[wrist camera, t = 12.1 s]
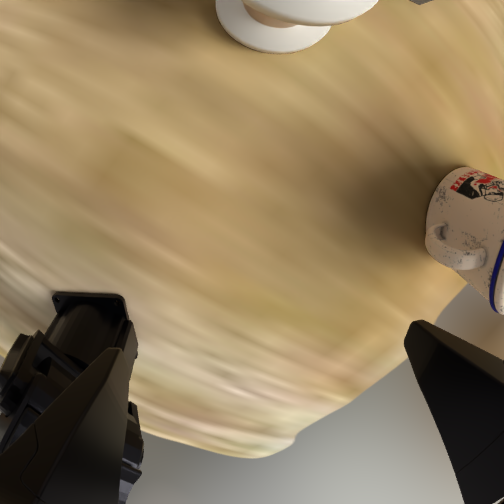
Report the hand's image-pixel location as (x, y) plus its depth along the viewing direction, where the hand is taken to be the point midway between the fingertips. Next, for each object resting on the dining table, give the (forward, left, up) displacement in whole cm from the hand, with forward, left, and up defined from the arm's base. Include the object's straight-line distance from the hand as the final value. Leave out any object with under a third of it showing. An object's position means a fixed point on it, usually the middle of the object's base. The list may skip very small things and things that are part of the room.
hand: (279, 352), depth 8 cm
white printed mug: (+17, +1, -12) cm, 21 cm away
